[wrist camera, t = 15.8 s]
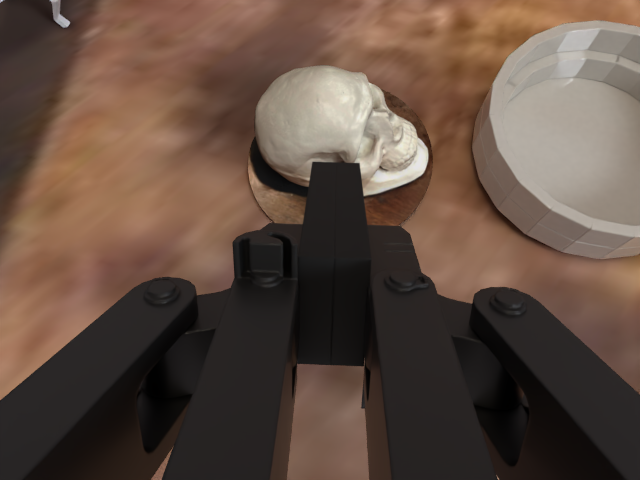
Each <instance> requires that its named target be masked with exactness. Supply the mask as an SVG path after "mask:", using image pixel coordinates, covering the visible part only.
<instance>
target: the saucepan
mask: <svg viewBox="0 0 640 480" xmlns="http://www.w3.org/2000/svg"><path fill="white" fill-rule="evenodd" d="M472 150H473V155H474V159H475V164H476V168H477V172H478V177H479V180H480V182H481V183H482V185H483V187H484V188H485V190H486V192H487V193H488V195H489V196H490V198H491V200H492V201H493V203H494V205H495V206H496V208H497V209H498V210H499V211H500V212H501V213H502V214H503V215H504V216H505V217H506V218H508V219H509V220H510V221H511V222H512V223H513V224H514V225H515V226H516V227H518V228H519V229H520V230H521V231H522V232H523V233H524V234H526V235H528V236H530V237H532V238H534V239H536V240H538V241H540V242H542V243H544V244H546V245H548V246H550V247H552V248H554V249H556V250H558V251H561V252H564V253H569V254H575V255H580V256H585V257H590V258H595V259H608V258H618V257H627V256H635V255H639V254H640V27H636V26H633V25H627V24H620V23H614V22H607V21H599V20H597V21H586V22H575V23H565V24H561V25H559V26H556V27H553V28H551V29H548V30H546V31H543V32H540V33H538V34H535V35H533V36H532V37H530V38H529V39H528V40H527V41H526V42H524V43H523V44H522V45H521V46H519V47H518V48H517V49H516V50H515V51H513V52H512V53H511V54H510V55H509V56H508V57H507V58H506V60H505V62H504V64H503V66H502V67H501V69H500V71H499V73H498V74H497V76H496V78H495V80H494V82H493V84H492V86H491V88H490V90H489V92H488V94H487V96H486V98H485V100H484V102H483V104H482V106H481V108H480V111H479V113H478V115H477V117H476V120H475V127H474V135H473V142H472Z"/></svg>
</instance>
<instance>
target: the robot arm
mask: <svg viewBox="0 0 640 480" xmlns="http://www.w3.org/2000/svg"><path fill="white" fill-rule="evenodd" d="M233 258H234V275H235V278H234V281H233V283H232V286H231V288H229V289H227V290H224V291H221V292H216V293H211V294H204V295H197V294H196V289H195V286H194V285H193V284H192V283H191V282H189V281H187V280H184V279H181V278H171V277H162V278H161V277H160V278H155V279H152V280H150V281H147V282H144V283H141V284H140V285H138V286H136V287H135V288H133V289H132V290H131V291H130V292H128V293H127V294H126V295H125V296H124V297H122V298H121V299H120V300H119V301H118V302H116V303H115V304H114V305H113V306H112V307H111V308H109V309H108V310H107V311H106V312H105V313H103V314H102V315H101V316H100V317H99V318H98V319H96V320H95V321H94V322H93V323H92V324H90V325H89V326H88V327H87V328H86V329H85V330H83V331H82V332H81V333H80V334H79V335H77V336H76V337H75V338H74V339H73V340H71V341H70V342H69V343H68V344H67V345H66V346H64V347H63V348H62V349H61V350H60V351H58V352H57V353H56V354H55V355H54V356H53V357H51V358H50V359H49V360H48V361H47V362H45V363H44V364H43V365H42V366H41V367H40V368H38V369H37V370H36V371H35V372H34V373H32V374H31V375H30V376H29V377H28V378H26V379H25V380H24V381H23V382H22V383H21V384H19V385H18V386H17V387H16V388H15V389H13V390H12V391H11V392H10V393H9V394H8V395H6V396H5V397H4V398H3V399H2V400H0V480H151V478H152V477H153V475H154V474H155V472H156V471H157V469H158V468H159V467H160V465H161V464H162V462H163V461H164V459H165V458H166V456H167V455H168V453H169V452H170V450H171V449H172V447H173V446H174V447H173V450H172V452H171V455H170V458H169V461H168V463H167V466H166V469H165V472H164V475H163V477H162V480H287V471H288V461H289V451H290V442H291V432H292V422H293V413H294V403H295V393H296V384H297V364H319V365H345V366H364V356H365V367H364V380H363V394H362V407H361V408H365V415H366V432H367V448H368V465H369V480H498V479H497V476H498V478H499V480H640V395H639V394H638V393H637V392H636V391H635V390H634V389H633V388H632V387H631V386H630V385H629V384H627V383H626V382H625V381H624V380H623V379H622V378H621V377H620V376H619V375H618V374H617V373H616V372H614V371H613V370H612V369H611V368H610V367H609V366H608V365H607V364H606V363H605V362H604V361H602V360H601V359H600V358H599V357H598V356H597V355H596V354H595V353H594V352H593V351H592V350H591V349H589V348H588V347H587V346H586V345H585V344H584V343H583V342H582V341H581V340H580V339H579V338H577V337H576V336H575V335H574V334H573V333H572V332H571V331H570V330H569V329H568V328H567V327H566V326H564V325H563V324H562V323H561V322H560V321H559V320H558V319H557V318H556V317H555V316H554V315H553V314H551V313H550V312H549V311H548V310H547V309H546V308H545V307H544V306H543V305H542V304H541V303H539V302H538V301H537V300H536V299H534V298H533V297H531V296H530V295H528V294H525V293H523V292H520V291H518V290H516V289H512V288H510V289H509V288H507V287H490V288H486V289H481V290H480V291H478V292H477V293H475V295H474V299H473V303H472V304H470V303H466V302H461V301H456V300H453V299H449V298H446V297H443V296H441V295H439V294H437V291H436V288H435V285H434V283H433V282H432V280H431V279H430V278H429V277H427V276H426V275H424V274H423V273H421V269H420V266H419V263H418V259H417V256H416V253H415V249H414V246H413V243H412V239H411V236H410V234H409V233H408V232H407V231H405V230H404V229H403V228H402V227H401V226H387V225H367V218H366V210H365V202H364V194H363V186H362V178H361V170H360V163H342V162H312V168H311V174H310V180H309V187H308V193H307V200H306V206H305V213H304V219H303V224H285V223H269V224H268V225H266V226H265V227H264V228H262V229H261V230H256V231H252V232H247V233H244V234H242V235H240V236H238V237H237V238H236V239H235V240H234V241H233ZM496 475H497V476H496Z"/></svg>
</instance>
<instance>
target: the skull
mask: <svg viewBox="0 0 640 480" xmlns="http://www.w3.org/2000/svg"><path fill="white" fill-rule="evenodd" d="M254 130H255V137H254V139H253V142H252V144H251V148H250V152H249V159H248V174H249V180H250V184H251V188H252V191H253V193H254V196H255V198H256V200H257V202H258V203H259V205H260V206H261V208H262V209H263V211H264V212H265V213H266V214H267V215H268V217H269V218H270V219H271V220H273V221H274V222H275V223H285V224H303V219H304V213H305V206H306V200H307V193H308V187H309V180H310V174H311V168H312V162H342V163H360V170H361V178H362V186H363V194H364V202H365V210H366V218H367V225H387V226H398V225H399V224H401V223H402V222H403V221H405V220H406V218H407V217H408V216H409V215H410V214H411V213H412V212H413V211H414V210H415V209H416V207H417V206H418V205H419V203H420V202H421V200H422V198H423V197H424V195H425V193H426V190H427V188H428V185H429V182H430V178H431V174H432V165H433V162H432V160H433V158H432V150H431V144H430V140H429V137H428V134H427V132H426V130H425V128H424V126H423V124H422V122H421V120H419V118H418V116H417V115H416V114H415V113H414V112H413V110H412V109H411V108H409V106H408V105H406V104H405V103H404V102H403V101H402V100H400V99H399V98H397V97H396V96H395V95H392V94H390V93H389V92H386V91H384V90H382V89H380V88H379V87H377V86H375V85H373V84H371V83H369V82H368V79H367V76H366V75H365V74H363V73H361V72H350V71H346V70H343V69H340V68H337V67H333V66H329V65H321V66H313V67H306V68H297V69H294V70H292V71H290V72H287V73H285V74H283V75H281V76H280V77H279V78H277V79H276V80H275V81H274V82H273V83H272V84H271V85H270V86H269V87H268V89H267V91H266V92H265V93H264V94H263V95H262V97H261V98H260V100H259V102H258V105H257V107H256V109H255V123H254Z"/></svg>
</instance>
